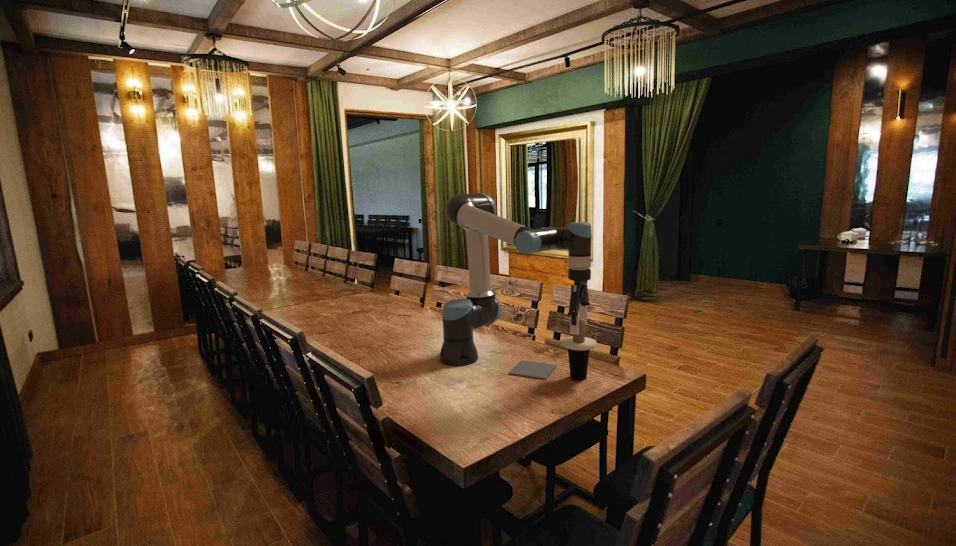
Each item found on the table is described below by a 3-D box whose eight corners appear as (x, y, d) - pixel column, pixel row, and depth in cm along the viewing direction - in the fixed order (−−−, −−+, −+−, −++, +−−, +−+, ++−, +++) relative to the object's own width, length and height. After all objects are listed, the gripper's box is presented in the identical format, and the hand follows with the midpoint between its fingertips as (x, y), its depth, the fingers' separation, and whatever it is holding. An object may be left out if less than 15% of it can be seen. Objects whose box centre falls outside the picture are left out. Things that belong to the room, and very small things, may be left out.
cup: (589, 382, 164) (590, 348, 162) (567, 381, 166) (567, 347, 164) (589, 374, 172) (589, 341, 170) (567, 372, 173) (567, 340, 171)
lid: (557, 348, 164) (557, 321, 163) (566, 338, 175) (566, 313, 173) (592, 352, 159) (593, 325, 158) (599, 341, 170) (600, 316, 168)
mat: (508, 374, 173) (508, 372, 173) (521, 361, 186) (521, 360, 186) (546, 379, 168) (546, 378, 168) (556, 366, 180) (556, 364, 180)
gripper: (582, 274, 150) (581, 340, 153) (597, 263, 172) (596, 320, 176) (559, 273, 153) (558, 337, 156) (576, 262, 175) (576, 318, 179)
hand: (578, 328), depth 166 cm, fingers open, 13 cm apart
